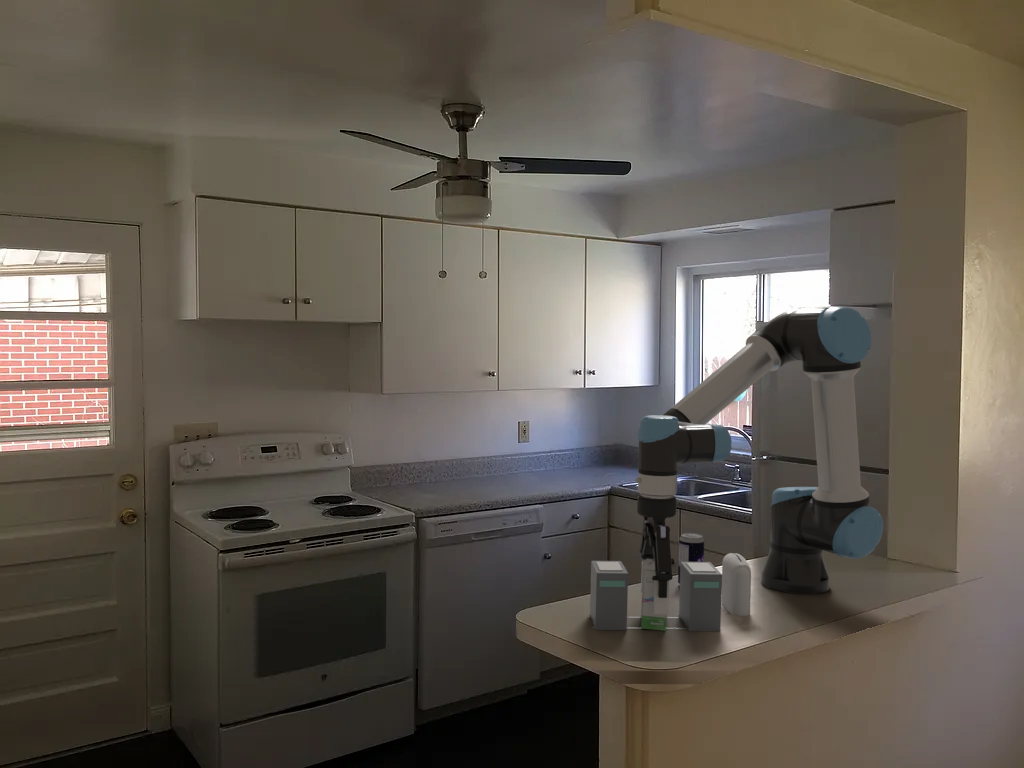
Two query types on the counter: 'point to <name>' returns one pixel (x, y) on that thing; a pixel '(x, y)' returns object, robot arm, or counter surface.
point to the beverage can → (690, 549)
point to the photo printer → (736, 584)
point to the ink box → (650, 601)
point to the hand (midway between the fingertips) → (654, 602)
